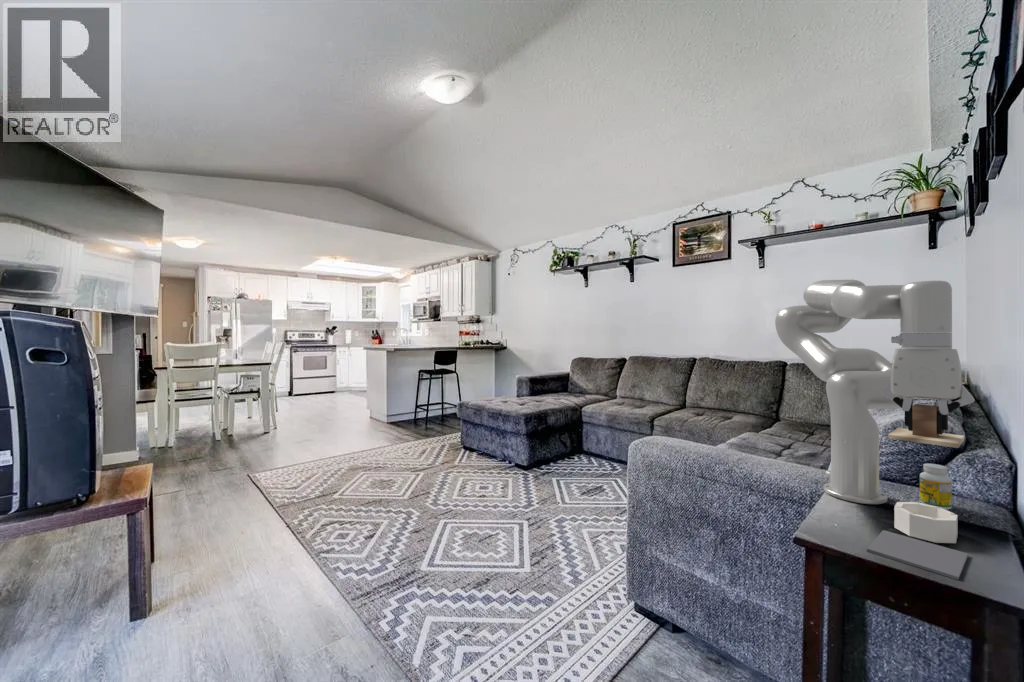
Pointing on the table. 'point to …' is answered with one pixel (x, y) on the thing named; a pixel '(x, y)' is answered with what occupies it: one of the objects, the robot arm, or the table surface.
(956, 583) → the table surface
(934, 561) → the mat
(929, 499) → the supplement bottle
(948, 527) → the bowl
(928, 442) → the lid
